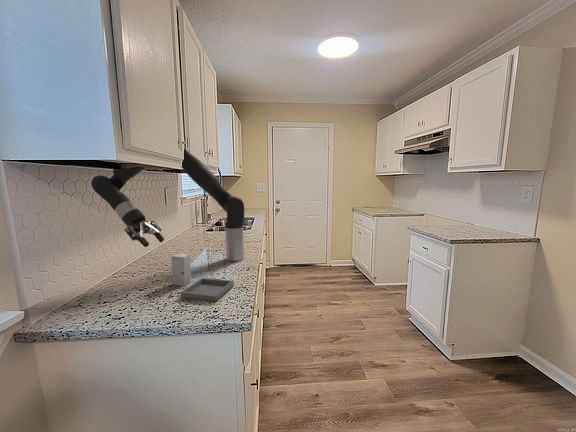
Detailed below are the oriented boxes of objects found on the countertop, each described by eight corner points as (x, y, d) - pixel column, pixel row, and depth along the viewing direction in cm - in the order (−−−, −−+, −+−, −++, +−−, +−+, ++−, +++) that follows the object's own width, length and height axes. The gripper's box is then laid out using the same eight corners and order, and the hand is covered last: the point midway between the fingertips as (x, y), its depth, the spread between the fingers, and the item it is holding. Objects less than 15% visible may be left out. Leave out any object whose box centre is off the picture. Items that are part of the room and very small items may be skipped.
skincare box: (172, 284, 107) (170, 256, 105) (180, 280, 111) (178, 252, 109) (185, 286, 105) (183, 257, 103) (192, 282, 109) (190, 254, 107)
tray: (202, 283, 108) (202, 277, 107) (233, 286, 104) (233, 280, 104) (180, 298, 94) (180, 292, 94) (215, 302, 91) (215, 296, 91)
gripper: (120, 210, 101) (147, 241, 100) (148, 206, 115) (172, 233, 114) (110, 223, 103) (136, 253, 102) (138, 218, 117) (162, 245, 116)
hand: (155, 243), depth 108 cm, fingers open, 8 cm apart
